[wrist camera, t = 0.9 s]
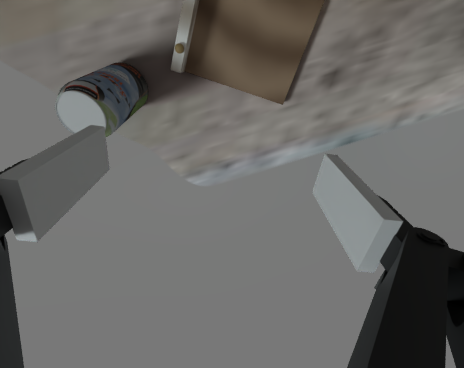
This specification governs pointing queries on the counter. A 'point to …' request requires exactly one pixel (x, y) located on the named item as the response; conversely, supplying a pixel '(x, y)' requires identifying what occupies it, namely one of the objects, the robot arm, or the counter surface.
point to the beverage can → (102, 98)
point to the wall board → (245, 42)
